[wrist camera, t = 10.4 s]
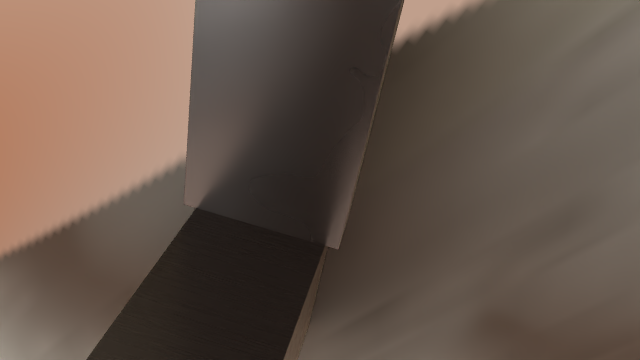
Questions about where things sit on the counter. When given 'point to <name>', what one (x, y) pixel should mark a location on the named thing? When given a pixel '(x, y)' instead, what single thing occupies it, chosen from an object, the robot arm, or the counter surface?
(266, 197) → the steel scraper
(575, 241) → the counter surface
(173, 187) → the counter surface
